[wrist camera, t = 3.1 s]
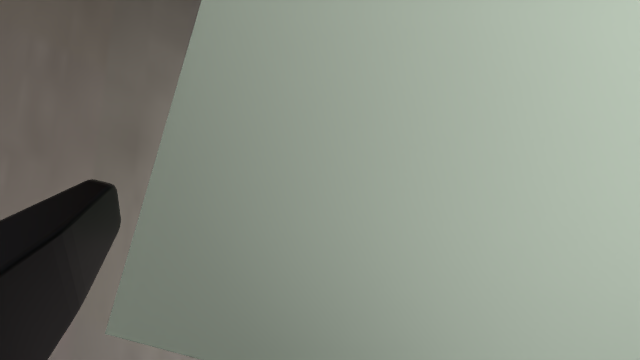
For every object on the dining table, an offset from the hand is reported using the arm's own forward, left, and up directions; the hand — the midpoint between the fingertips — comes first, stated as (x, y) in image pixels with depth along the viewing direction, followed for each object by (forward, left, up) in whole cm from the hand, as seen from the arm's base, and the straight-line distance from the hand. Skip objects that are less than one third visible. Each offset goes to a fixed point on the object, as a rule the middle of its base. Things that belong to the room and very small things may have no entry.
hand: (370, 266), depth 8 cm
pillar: (+1, 0, -9) cm, 9 cm away
